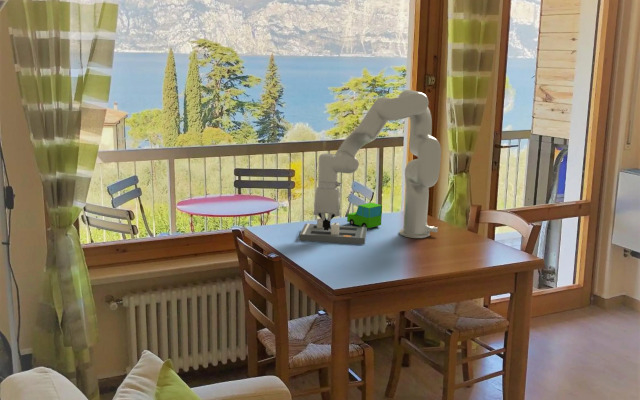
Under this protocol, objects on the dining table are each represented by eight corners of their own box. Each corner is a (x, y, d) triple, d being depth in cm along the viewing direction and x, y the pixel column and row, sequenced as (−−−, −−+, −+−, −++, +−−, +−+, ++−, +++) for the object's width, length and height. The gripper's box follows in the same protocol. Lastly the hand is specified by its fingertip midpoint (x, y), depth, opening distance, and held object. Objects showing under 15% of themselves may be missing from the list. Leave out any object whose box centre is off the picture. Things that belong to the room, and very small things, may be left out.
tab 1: (324, 229, 266) (325, 216, 265) (324, 231, 263) (324, 218, 262) (317, 228, 267) (318, 216, 265) (316, 230, 264) (317, 218, 263)
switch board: (366, 232, 267) (366, 226, 266) (364, 244, 252) (364, 237, 251) (305, 229, 270) (305, 223, 269) (299, 240, 255) (299, 233, 254)
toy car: (360, 220, 286) (361, 199, 284) (382, 227, 277) (383, 204, 274) (344, 224, 279) (345, 202, 277) (366, 231, 270) (367, 208, 268)
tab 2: (339, 235, 258) (339, 222, 257) (338, 237, 255) (338, 224, 254) (331, 235, 258) (332, 222, 257) (330, 237, 255) (331, 224, 254)
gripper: (347, 184, 255) (345, 228, 259) (310, 182, 257) (309, 226, 261) (345, 188, 248) (344, 233, 252) (307, 186, 249) (306, 231, 254)
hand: (326, 229), depth 256 cm, fingers closed
